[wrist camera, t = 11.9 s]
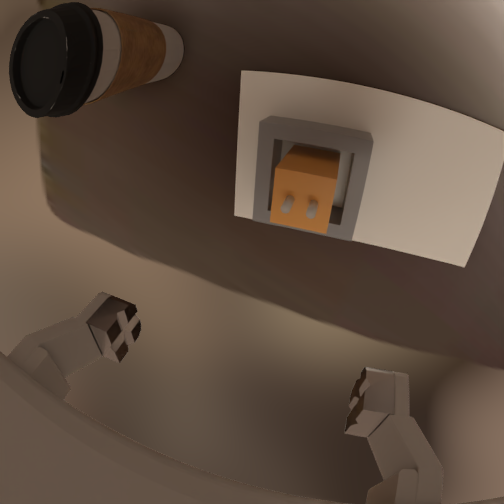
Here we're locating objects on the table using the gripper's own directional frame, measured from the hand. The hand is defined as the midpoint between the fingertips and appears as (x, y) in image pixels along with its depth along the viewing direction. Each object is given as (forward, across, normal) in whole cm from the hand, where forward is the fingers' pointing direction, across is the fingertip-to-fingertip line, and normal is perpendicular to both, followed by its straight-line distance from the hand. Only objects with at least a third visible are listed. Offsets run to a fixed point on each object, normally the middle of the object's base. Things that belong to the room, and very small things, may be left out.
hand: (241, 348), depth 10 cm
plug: (+20, 0, 0) cm, 20 cm away
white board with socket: (+21, -5, -1) cm, 21 cm away
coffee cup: (+21, +16, -10) cm, 28 cm away
